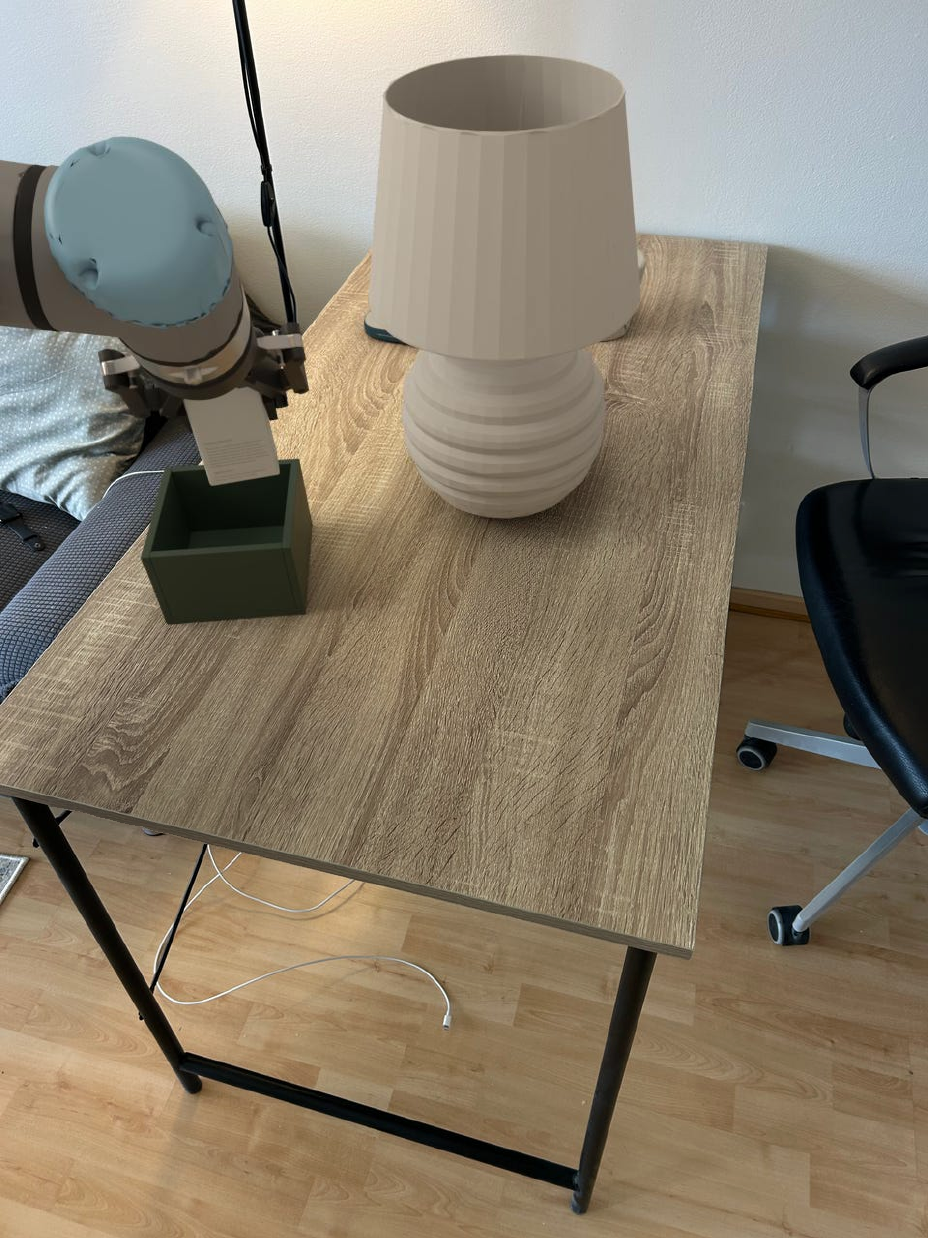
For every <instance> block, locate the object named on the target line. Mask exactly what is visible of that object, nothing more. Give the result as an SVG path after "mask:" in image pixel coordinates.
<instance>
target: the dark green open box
mask: <svg viewBox="0 0 928 1238" xmlns="http://www.w3.org/2000/svg"><path fill="white" fill-rule="evenodd" d="M278 463H279V470H280V474H278V475H272V476H266V477H261V478H255V479H249V480H243V481H237V482H231V483H226V484H220V485H213V486H212V485H210V483H209V480H208V477H207V474H206V470H205V467H204V464H197V465H182V466H170V467H164V471H163V473H162V478H161V481H160V485H159V488H158V493H157V495H156V499H155V503H154V507H153V511H152V515H151V519H150V521H149V522H150V523H149V526H148V530H147V533H146V537H145V541H144V544H143V549H142V552H141V554H140V560H141V562H142V565H143V567H144V571H145V572H146V575H147V577H148V580H149V582H150V585H151V587H152V590H153V592H154V595H155V597H156V600H157V602H158V605H159V607H160V610H161V612H162V615H163V618H164V620H165V623H166V625H173V624H174V625H175V624H185V623H186V624H187V623H188V624H189V623H203V622H214V621H216V622H217V621H229V620H230V621H231V620H242V619H255V618H257V619H258V618H274V617H282V616H283V617H286V616H300V615H301V616H302V615H306V614H307V605H308V604H307V603H308V590H309V589H308V588H309V580H310V579H309V577H310V564H311V550H312V538H313V525H314V524H313V520H312V514H311V510H310V504H309V500H308V494H307V491H306V486H305V480H304V475H303V470H302V465H301V460H300V458H284V459H278Z"/></svg>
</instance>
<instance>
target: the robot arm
mask: <svg viewBox="0 0 928 1238" xmlns="http://www.w3.org/2000/svg"><path fill="white" fill-rule="evenodd" d="M212 195H213V194H212V193H211V192H210V189H209V188H208V186H207V184H206V183H205V181H204V180H203V178H202V177H201V176H200V174H198V172H197V171H196V170H195V169H194V167H192V165H190V164H189V162H188V161H186V160H185V159H184V158H183V157H182V156H180V155H179V154H178V153H176V152H174V151H173V150H171V149H170V148H168V147H166V146H163V145H162V144H160V143H157V142H154V141H153V140H152V141H151V140H148V139H146V138H140V137H136V136H111V137H110V138H107V139H104V140H100V141H97V142H95V143H92V144H90V145H87V146H83V147H79V148H78V149H77V150H75V151H74V152H72V153H70V155H68V157H66V158H65V159H64V160H63V161H62V163H61V164H60V165H55V164H51V165H48V166H47V165H41V164H31V163H24V162H16V161H10V160H3V159H0V327H5V328H6V327H7V328H15V329H27V330H36V331H45V332H47V331H48V332H58V333H59V332H64V333H72V334H73V333H74V334H84V335H91V336H92V335H93V336H100V337H102V336H103V337H109V338H110V337H112V338H117V339H119V341H120V342H121V343H122V344H123V346H124V347H125V348H126V349H127V350H128V351H124V352H121V351H119V350H116V349H113V348H104V349H101V350H99V351H98V352H97V355H98V360H99V365H100V370H101V376H102V381H103V385H104V390H106V391H109V392H111V393H114V394H116V395H119V397H120V398H121V400H122V401H123V402H124V404H125V405H126V407H127V409H128V410H129V411H130V413H131V414H132V415H133V417H134V418H136V419H140V420H143V419H147V418H149V417H151V412H155V411H156V412H159V416H160V417H166V419H168V420H173V419H178V420H179V421H180V422H181V423H182V425H183V426H184V427H185V428H186V430H187V431H188V432H189V434H194V433H193V430H192V427H191V424H190V421H189V418H188V415H187V412H186V409H185V406H184V402H183V400H184V399H188V400H210V399H214V398H218V397H220V396H223V395H225V394H227V393H229V392H230V391H232V390H233V389H235V388H238V389H240V388H244V387H249V388H251V389H253V390H255V391H257V392H259V393H261V394H262V398H263V403H264V406H265V409H266V411H267V415H268V418H269V422H270V421H272V422H273V421H278V420H279V416H278V412H277V410H278V409H284V408H288V406H289V401H288V399H289V398H288V393H287V392H288V391H291V390H292V392H293V393H294V394H298V395H304V394H307V393H308V392H309V391H310V388H309V387H310V386H309V382H308V376H307V371H306V366H305V362H306V360H307V357H306V351H305V347H304V341H303V335H302V329H301V326H300V323H299V322H294V321H289V322H287V323H284V324H282V326H280V329H275V330H272V331H271V335H265V334H264V332H263V331H262V330H261V329H260V328H258V327H255V326H254V323H253V320H252V316H251V313H250V309H249V305H248V303H247V297H246V295H245V291H244V287H243V284H242V282H241V279H240V277H239V272H238V269H237V264H236V260H235V256H234V243H233V239H232V237H231V236H230V233H229V229H228V228H229V225H228V224H227V222H226V220H225V219H224V217H223V213H222V212H221V210H220V208H219V207H218V205H217V204H216V202H215V200H214V198H213V196H212ZM268 355H271V357H272V358H276V360H277V361H275V360H274V359H271V358H270V357H269V356H268ZM142 377H144V378H146V379H150V380H151V381H152V382H153V386H154V387H151V388H146V384H145V382H144V380H143V378H142Z"/></svg>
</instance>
